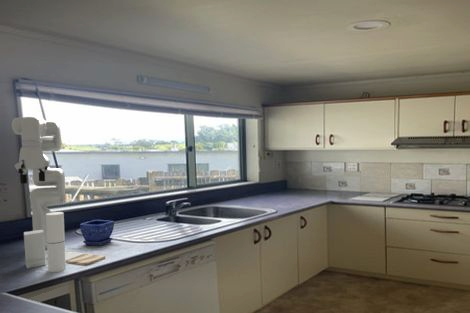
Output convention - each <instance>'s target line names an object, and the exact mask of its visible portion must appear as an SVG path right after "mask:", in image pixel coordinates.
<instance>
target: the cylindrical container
mask: <svg viewBox="0 0 470 313" xmlns="http://www.w3.org/2000/svg"><path fill="white" fill-rule="evenodd" d="M64 217H65V213H64V212H63V211H55V212H54V211H53V212H52V211H51V213H47V214H46V229H47V248H46V250H47V251H46V252H47V254H46V255H47V258H48V260H47V271H48V272H50V273H58V272H62V271H65V270H66V269H67V266H66V265H67V264H66V263H67V262H65V252H66V244H65V243H66V241H65V236H66V235H65V218H64Z"/></svg>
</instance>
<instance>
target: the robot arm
mask: <svg viewBox="0 0 470 313" xmlns="http://www.w3.org/2000/svg"><path fill="white" fill-rule="evenodd" d="M11 129H12V131H13V133H14V134H15V135H21V142H22V143H21V144H22V146H21V147H20V151H19V155H18V156H19V157H18V158H19V159H18V162H17V163H16V164H14V168H15V170H16V172H17V173H18V175H20V183H21V184H28V176H27V172H28V171H31V170H32V181H33V184H34V186H36V187H37V188H35V189H34V188H33V189H32V190H31V191H30V193H29V200H30V206H31V215H32V216H31V217H32V231H36V230H43V232H44V246H45V250H47V229H46V214H47V213H52V211H51V210H50V209H49V208H48V207H49V206H59V205H60V206H61V205H63V204H64V203H65V202H66V178H65V177H66V176H65V172H64V170H63V169H62V168H51V163H50V162H51V160H50V159H49V158H48V156H47V155H45V153H49V152H50V153H51V152H59V151H60V150H61V149H62V145H63V144H62V137H61V136H62V135H61V129H60V125H59V123H58V122H57V121H55V120H45V119H44V118H42V117H36V116H25V117H14V118H13V120H12V122H11ZM53 186H55V187H53ZM39 187H40V188H39Z"/></svg>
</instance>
